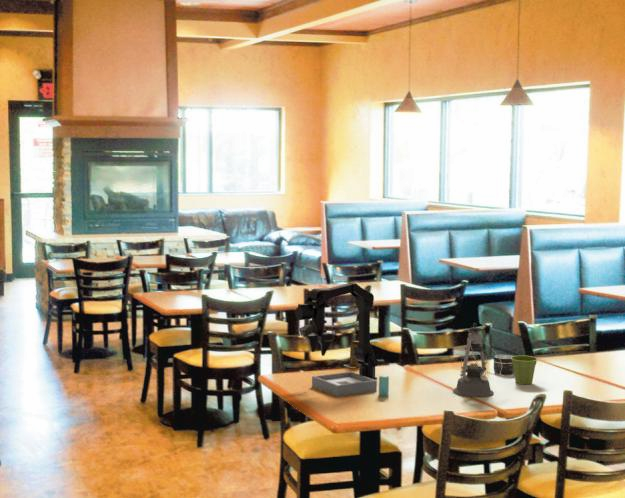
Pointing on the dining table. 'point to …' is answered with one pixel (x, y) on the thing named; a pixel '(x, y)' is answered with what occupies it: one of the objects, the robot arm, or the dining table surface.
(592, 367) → the dining table surface
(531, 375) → the plant pot
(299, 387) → the dining table surface
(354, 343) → the condiment
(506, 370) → the jar
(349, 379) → the box
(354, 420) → the dining table surface
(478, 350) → the lantern
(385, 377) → the peg
